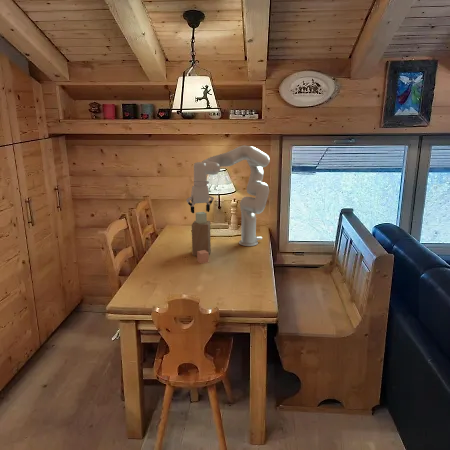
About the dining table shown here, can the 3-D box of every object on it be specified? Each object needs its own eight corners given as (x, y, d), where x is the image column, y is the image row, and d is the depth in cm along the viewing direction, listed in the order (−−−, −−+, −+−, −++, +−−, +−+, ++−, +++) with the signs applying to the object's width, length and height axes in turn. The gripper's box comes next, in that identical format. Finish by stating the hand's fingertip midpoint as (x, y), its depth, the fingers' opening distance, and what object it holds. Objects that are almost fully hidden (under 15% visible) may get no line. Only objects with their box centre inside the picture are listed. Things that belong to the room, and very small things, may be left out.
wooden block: (210, 251, 264) (210, 220, 258) (208, 256, 254) (208, 224, 249) (195, 250, 265) (194, 220, 259) (192, 256, 255) (191, 224, 250)
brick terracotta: (205, 259, 249) (204, 249, 248) (208, 262, 245) (208, 252, 243) (197, 260, 247) (197, 251, 246) (200, 263, 243) (200, 253, 241)
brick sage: (203, 221, 257) (203, 211, 256) (206, 223, 253) (206, 213, 252) (195, 222, 255) (195, 212, 254) (199, 224, 251) (198, 214, 249)
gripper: (211, 182, 252) (210, 209, 256) (184, 183, 244) (184, 212, 248) (216, 183, 245) (216, 212, 249) (188, 185, 238) (189, 214, 242)
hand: (200, 212), depth 249 cm, fingers open, 9 cm apart
